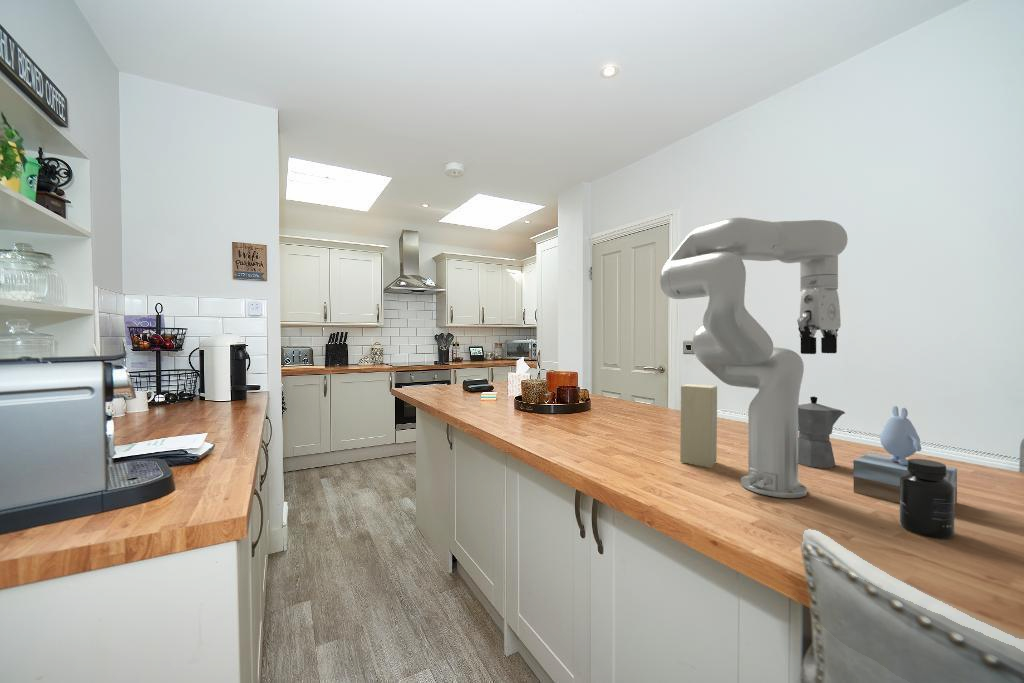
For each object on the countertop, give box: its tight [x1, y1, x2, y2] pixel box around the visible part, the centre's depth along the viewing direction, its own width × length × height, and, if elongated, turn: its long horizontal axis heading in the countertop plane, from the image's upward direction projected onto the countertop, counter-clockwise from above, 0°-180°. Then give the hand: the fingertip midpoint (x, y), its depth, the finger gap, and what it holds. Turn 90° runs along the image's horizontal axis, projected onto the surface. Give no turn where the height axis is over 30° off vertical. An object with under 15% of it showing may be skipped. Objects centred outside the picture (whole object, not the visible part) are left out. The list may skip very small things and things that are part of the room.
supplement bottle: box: [899, 458, 956, 540], centre depth 73 cm, size 7×7×12 cm
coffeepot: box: [798, 396, 846, 469], centre depth 113 cm, size 15×9×18 cm, turn 44°
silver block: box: [853, 452, 958, 505], centre depth 88 cm, size 10×14×7 cm
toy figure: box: [879, 405, 922, 466], centre depth 89 cm, size 11×6×12 cm, turn 173°
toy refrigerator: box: [679, 383, 718, 468], centre depth 114 cm, size 8×7×21 cm
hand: (818, 353), depth 103 cm, fingers open, 9 cm apart
